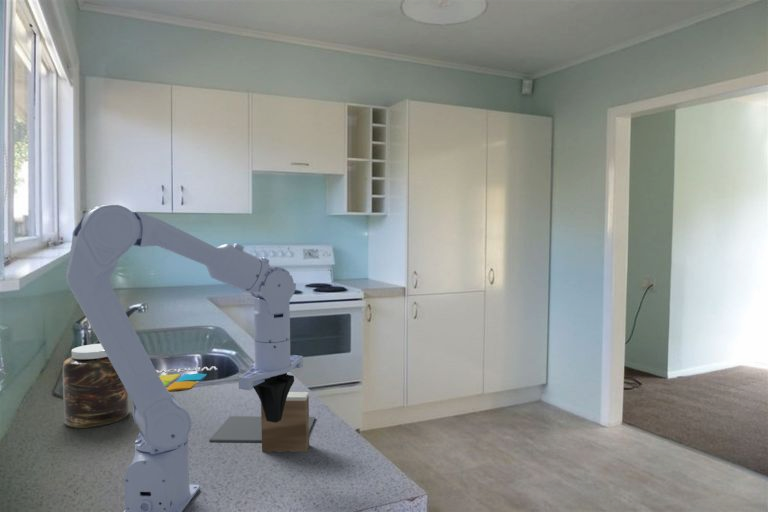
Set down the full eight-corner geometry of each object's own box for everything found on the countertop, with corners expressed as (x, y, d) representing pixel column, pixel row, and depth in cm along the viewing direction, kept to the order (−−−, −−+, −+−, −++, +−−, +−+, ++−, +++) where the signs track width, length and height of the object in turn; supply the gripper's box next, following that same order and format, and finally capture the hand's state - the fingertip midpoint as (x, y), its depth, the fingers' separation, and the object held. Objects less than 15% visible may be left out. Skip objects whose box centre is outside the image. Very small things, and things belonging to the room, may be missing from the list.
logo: (217, 364, 153) (215, 385, 134) (217, 368, 153) (215, 389, 134) (131, 370, 147) (115, 393, 128) (131, 374, 147) (115, 397, 128)
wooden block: (306, 452, 97) (305, 397, 96) (262, 451, 97) (260, 397, 96) (309, 445, 100) (308, 392, 99) (266, 444, 100) (265, 391, 99)
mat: (304, 442, 101) (304, 440, 101) (209, 441, 101) (209, 439, 101) (315, 418, 113) (315, 417, 113) (229, 418, 113) (229, 416, 113)
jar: (105, 405, 122) (102, 339, 121) (140, 413, 116) (138, 344, 115) (52, 422, 111) (49, 350, 110) (88, 432, 106) (85, 357, 105)
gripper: (279, 328, 96) (280, 403, 97) (222, 346, 83) (224, 432, 84) (312, 332, 93) (313, 409, 94) (258, 350, 80) (260, 439, 81)
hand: (273, 420), depth 89 cm, fingers closed
